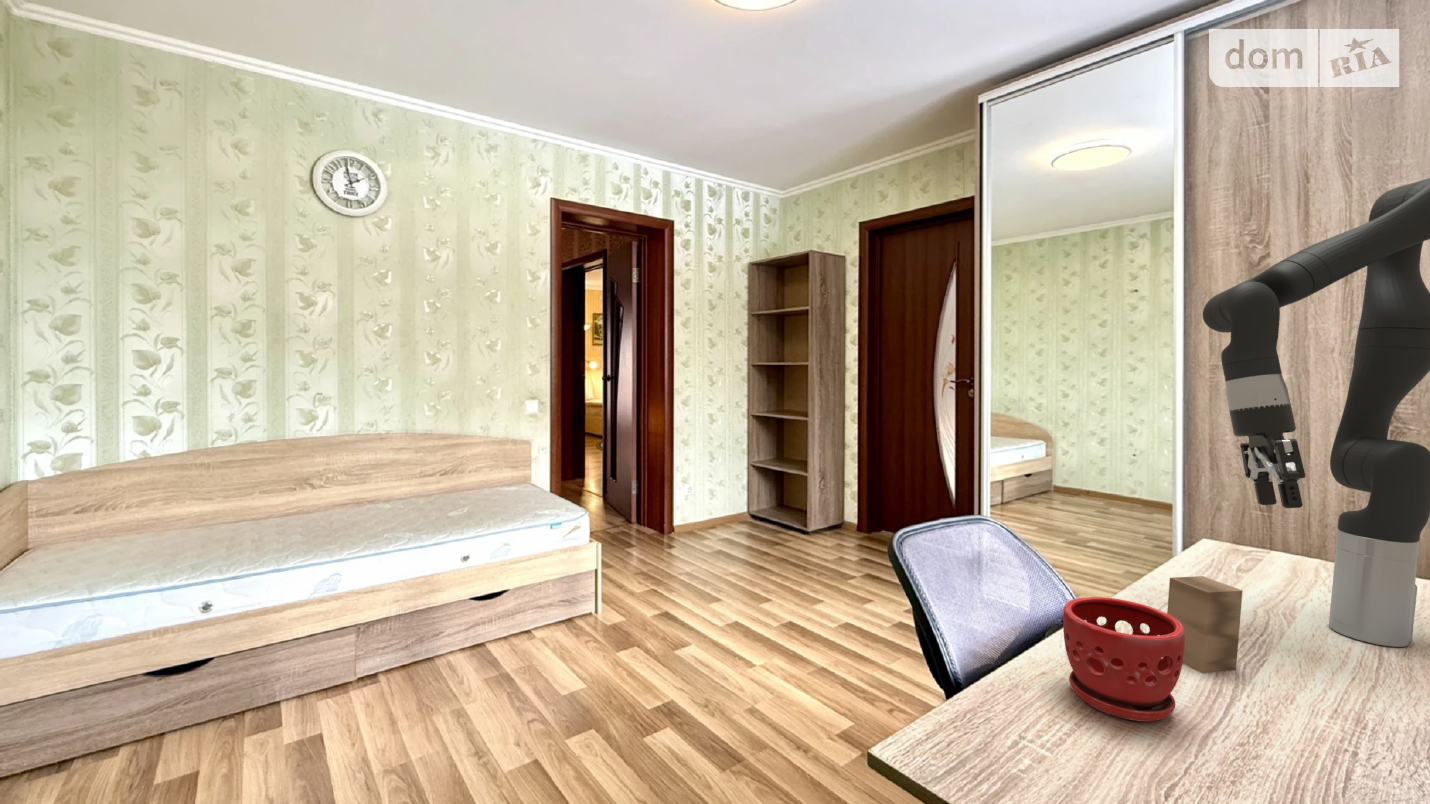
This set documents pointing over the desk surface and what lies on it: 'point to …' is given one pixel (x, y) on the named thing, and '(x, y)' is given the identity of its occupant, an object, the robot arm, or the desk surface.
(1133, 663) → the plant pot
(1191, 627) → the walnut block
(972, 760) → the desk surface
